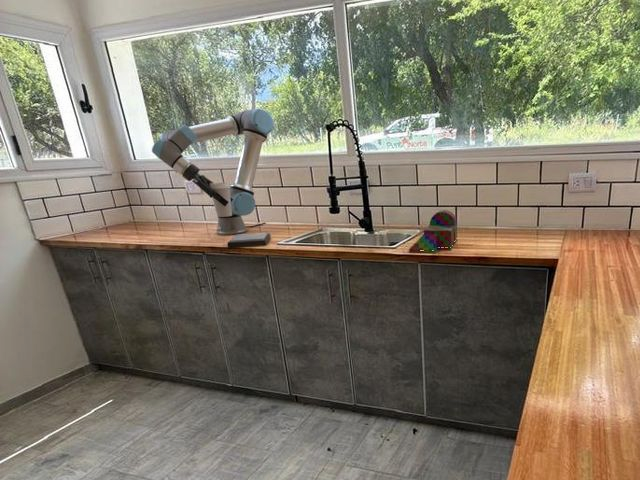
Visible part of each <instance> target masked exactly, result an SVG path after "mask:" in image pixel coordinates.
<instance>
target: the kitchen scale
mask: <svg viewBox="0 0 640 480" xmlns="http://www.w3.org/2000/svg"><path fill="white" fill-rule="evenodd" d="M271 236H272V235H271V233H269V232H258V233H240V234H234V236H233V237H232V238H231V239H230V240H229V241H228V242H226V243H227V244H226V245H227V248H228V249H232V248H233V249H234V248H235V249H236V248H247V247H248V248H249V247H264V246H265V247H266V246H267V245H268V244H269V242H270V241H271V239H272V237H271Z"/></svg>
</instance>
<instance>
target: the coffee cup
mask: <svg viewBox="0 0 640 480" xmlns="http://www.w3.org/2000/svg"><path fill="white" fill-rule="evenodd" d="M230 186H231V184H229V183H228V182H213V183H212V184H210V187H211V188H212V189H213V190H214V191H215V192H217V193H218V194H219V195H221V196H222V197H223V198H224V199H226V200H227V201H228V202H229V203H228V204H227V205H226V206H224V205H222V204H221V203H220V202H218V201H217V200H216V199H215V198H213V197H212V198H211V199H212V202H213V205H214V209H215V213H216V216H217V218H218V217H227V216H232V209H231V198H230V188H231V187H230Z"/></svg>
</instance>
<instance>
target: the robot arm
mask: <svg viewBox="0 0 640 480" xmlns="http://www.w3.org/2000/svg"><path fill="white" fill-rule="evenodd" d="M274 126H275V122H274V118H273V116H272V115H271V113H270V112H269V111H267V110H266V109H263V108H257V107H256V108H253V109H246V110H242V111H240V112H237V113H235V114H231V115H227V116H226V118H224V119H223V118H222V119H218V120H214V121H210V122H205V123H200V124H195V125H191V126H188V125H186V124H182V125H181V126H180V127H178V129H172V130H166V131H164V132H162V133H161V134H160V139H158V140H156V141H155V142H154V143H153V145H152V147H151V152H152V153H153V154H154V155H155V156H156V158H158V159H159V160H160V161H162V162H163V163H165V164H166V165H167V166H168V167H170V168H171V169H172V170H174V172H175V174H177V173H178V174H179V175H180V176H182V178H184V180H186V181H187V182H191V181H192V183H193V184H195V185H196V186H197V187H198V188H200V189H201V190H202V191H203V192H204V193H205V194H206V195H208V196H209V198H210V199H213V198H215V199H216V200H217V201H218V202H220V203H221V204H222V205H224V206H226V205H227V204H228V203H229V202H228V201H227V200H226V199H224V198H223V197H222V196H221V195H219V194H218V193H217V192H215V191H214V190H213V189H212V188H211V187H210V184H212V183H214V182H213V181H212V180H210V179H209V178H208V177H206V176H205V175H204V174H200V173H199V172H200V168H199V167H198V166H196V165H195V164H194V163H192V161H190V160H189V159H187V157H185V156H184V155H182V154H183V153H184V152H185V151H186V150H187V149H188V148H189V147H190V146H191V145H193V144H197V143H202V142H206V141H209V140H214V139H218V138H222V137H226V136H231V135H232V136H240V135H243V136H244V139H243V143H242V148H241V153H240V158H239V162H238V165H237V171H236V174H235V179H234V182H233V183H231V184H230V187H231V188H230V198H231V209H232V216H227V217H218V216H217V226H216V233H217V235H221V236H231V235H237V234H245V233H246V232H248V229H247V228H256V227H258V226H262V225H266V224H267V223H266V222H263V223H259V224H254V225H253V224H252V225H246V224H245V222H244V220H243V218H242V217H243V216H244V217H245V216H249V215H250V214H252V213H253V212H254V210H255V209H256V200H255V197H254V194H255V191H254V190H253V186H254V181H255V177H256V173H257V169H258V164H259V159H260V155H261V151H262V146H263V143H265V142H267V140H268V136H269V134H270V133H272V132H273V130H274ZM212 197H213V198H212Z"/></svg>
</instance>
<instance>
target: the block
mask: <svg viewBox="0 0 640 480" xmlns="http://www.w3.org/2000/svg"><path fill="white" fill-rule="evenodd" d="M456 238H457V239H456ZM455 240H456V241H455ZM454 241H455V242H454ZM457 242H458V221H457V216H456V215H455V214H454V213H453V212H452V211H450V210H447V209H442V210H441V209H440V210H439V211H437V212H436V213H434V214H433V215H432V217H431V218H430V221H429V224H428V226H427V227H426V228H425V229H423V234H422V235H421V236H420V237H419V238H418V240H417V241H415V243H413V245H412V246H410V248H409V251H408V252H409V253H411V254H415V253H416V254H436V253H437V252H438V251H452V249H453V248H454V246H455V244H456V243H457ZM453 243H454V244H453ZM452 245H453V246H452ZM438 247H440V248H438ZM441 247H444V248H441ZM445 247H448V248H445ZM450 247H451V248H450ZM420 250H424V251H420ZM432 250H434V251H432Z"/></svg>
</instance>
